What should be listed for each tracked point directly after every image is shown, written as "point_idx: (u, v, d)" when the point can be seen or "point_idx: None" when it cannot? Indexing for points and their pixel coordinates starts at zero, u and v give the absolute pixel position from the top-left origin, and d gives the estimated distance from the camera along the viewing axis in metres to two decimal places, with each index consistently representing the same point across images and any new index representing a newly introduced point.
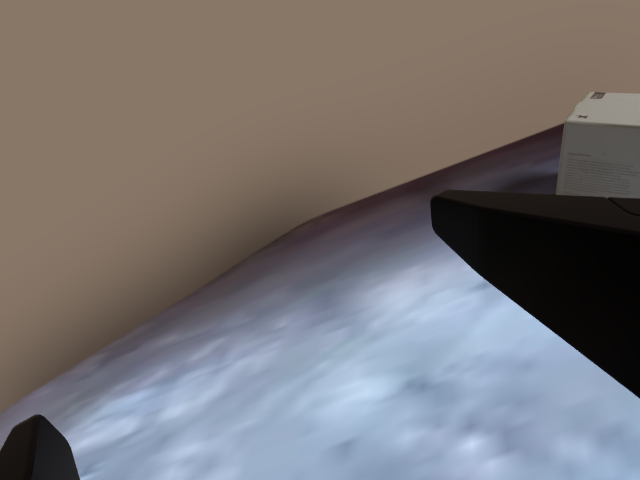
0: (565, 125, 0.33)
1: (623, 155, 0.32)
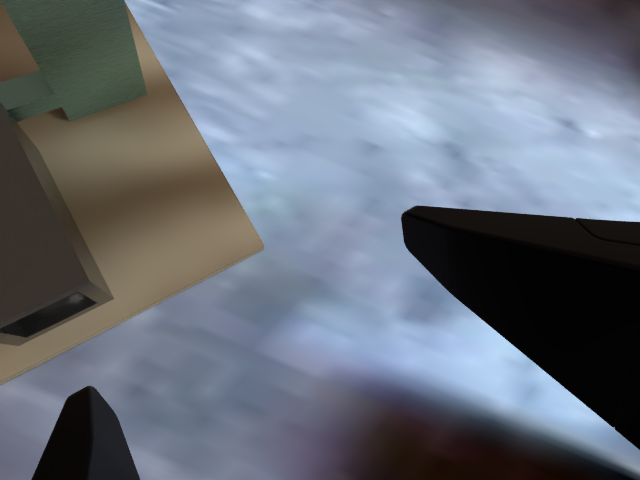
0: None
1: None
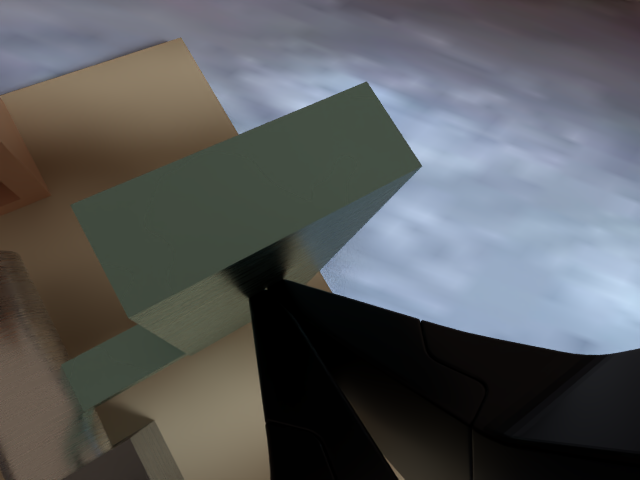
0: None
1: None
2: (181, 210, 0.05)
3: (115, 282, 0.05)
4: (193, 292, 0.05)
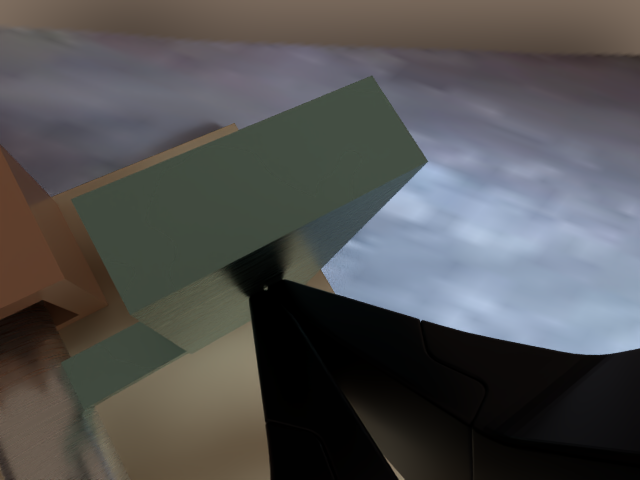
0: None
1: None
2: (184, 205, 0.05)
3: (116, 278, 0.05)
4: (195, 289, 0.05)
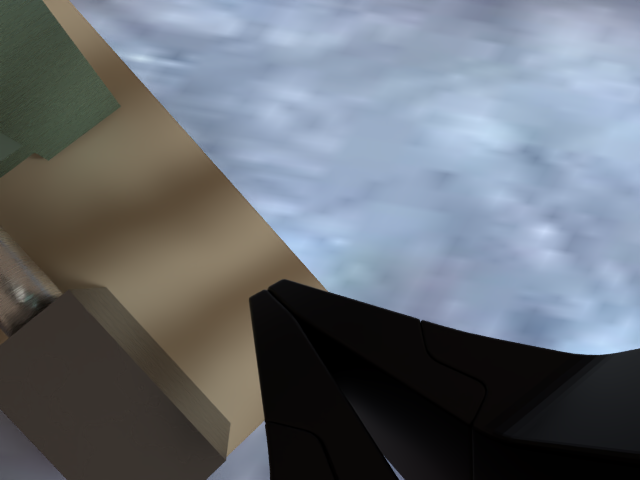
0: None
1: None
2: None
3: None
4: None
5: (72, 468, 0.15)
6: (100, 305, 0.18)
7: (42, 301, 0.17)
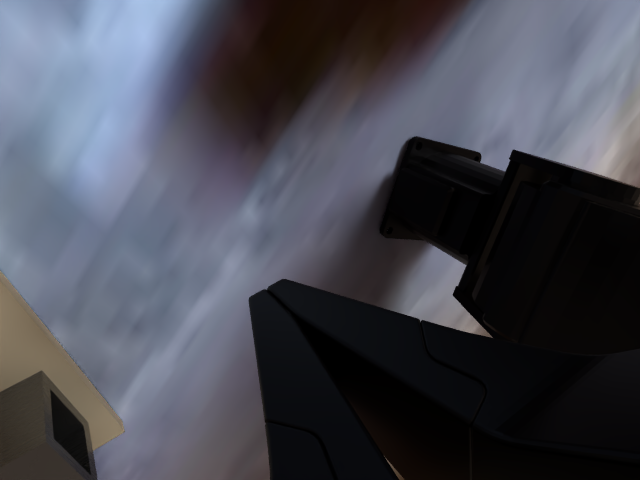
0: None
1: None
2: None
3: None
4: None
5: None
6: None
7: None
